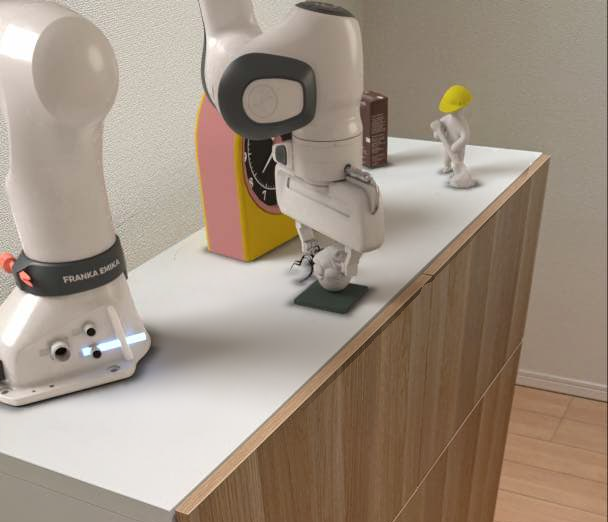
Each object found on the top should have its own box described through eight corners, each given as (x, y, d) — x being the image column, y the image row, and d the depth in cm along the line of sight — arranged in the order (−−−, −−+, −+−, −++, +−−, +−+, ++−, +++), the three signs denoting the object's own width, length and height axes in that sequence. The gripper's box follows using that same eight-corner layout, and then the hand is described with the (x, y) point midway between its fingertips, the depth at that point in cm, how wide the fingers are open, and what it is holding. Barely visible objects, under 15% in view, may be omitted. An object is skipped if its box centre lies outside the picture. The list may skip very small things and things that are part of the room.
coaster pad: (343, 314, 107) (343, 309, 106) (293, 303, 110) (293, 299, 109) (368, 290, 112) (368, 286, 111) (320, 280, 115) (319, 276, 114)
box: (352, 161, 154) (352, 93, 146) (371, 157, 155) (372, 89, 147) (369, 169, 150) (369, 100, 142) (388, 164, 152) (390, 96, 143)
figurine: (418, 183, 143) (423, 93, 133) (435, 168, 149) (440, 79, 139) (471, 189, 139) (480, 96, 129) (486, 173, 145) (495, 83, 135)
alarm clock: (248, 262, 121) (229, 70, 103) (206, 250, 125) (181, 63, 107) (327, 218, 133) (322, 39, 115) (286, 208, 137) (275, 34, 119)
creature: (288, 290, 115) (339, 281, 113) (277, 256, 112) (330, 246, 109) (298, 268, 121) (347, 259, 118) (289, 234, 118) (339, 224, 115)
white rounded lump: (352, 302, 108) (352, 253, 103) (306, 295, 110) (303, 247, 105) (366, 284, 112) (366, 236, 107) (321, 278, 114) (320, 230, 109)
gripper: (399, 171, 92) (394, 282, 102) (303, 134, 105) (307, 236, 114) (356, 182, 90) (355, 295, 99) (264, 143, 103) (271, 247, 112)
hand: (328, 263), depth 107 cm, fingers open, 8 cm apart
